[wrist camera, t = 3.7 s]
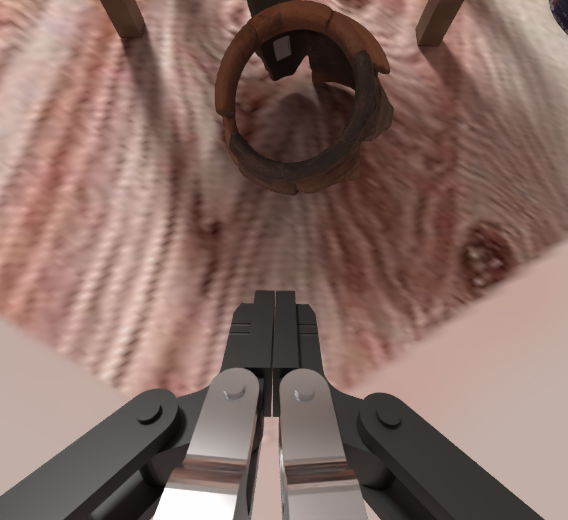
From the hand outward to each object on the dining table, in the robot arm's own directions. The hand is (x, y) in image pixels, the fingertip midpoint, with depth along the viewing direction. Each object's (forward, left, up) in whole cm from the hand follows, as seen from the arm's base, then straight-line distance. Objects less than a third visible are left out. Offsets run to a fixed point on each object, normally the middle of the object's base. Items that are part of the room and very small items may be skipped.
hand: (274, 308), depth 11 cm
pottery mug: (+1, +12, -5) cm, 13 cm away
